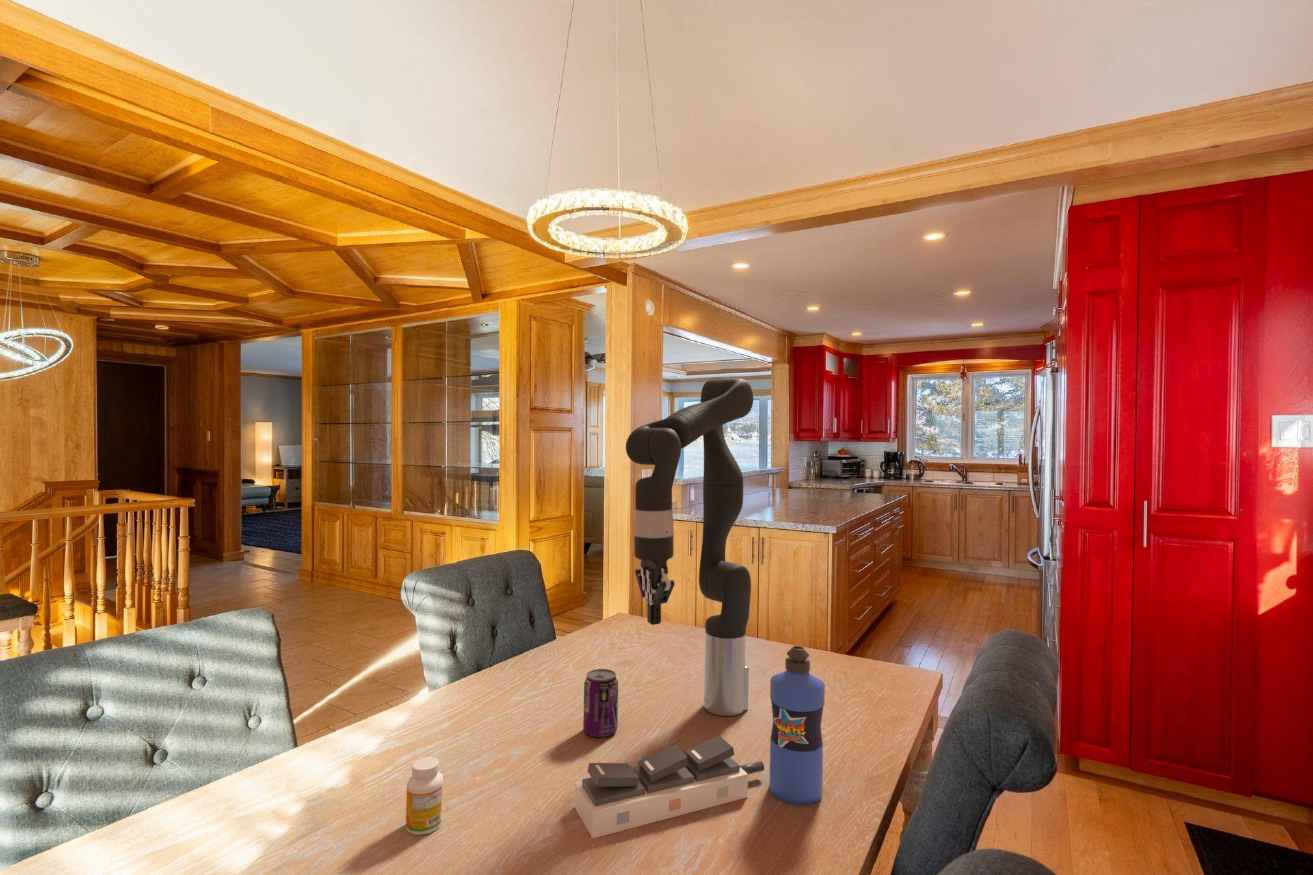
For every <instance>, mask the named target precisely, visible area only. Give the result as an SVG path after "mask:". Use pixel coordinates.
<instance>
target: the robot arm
mask: <svg viewBox="0 0 1313 875" xmlns="http://www.w3.org/2000/svg"><path fill="white" fill-rule="evenodd" d="M753 405H754V392H753V388H752V386H751V384H750V383H749V382H748V381H747V380H745V379H743V378H734V377H732V378H720V379H719V378H715V379H713V378H712V379H709V380H707V381H706V382H704V383H703V386H702V388H701V394H700V402H698V403H694V404H691V405H687V406H685V407H683V408H680V409H678V410H677V411H675V412H674V413H672V414H670V415H669V416H666V418H662V419H659V420H656V421H653V422H650V423H647V424H643V425H641V426H639V427H636V429H634V430H633V431H632V432H631V433H630V434H629V436H628V437H627V439H626V443H625V452H626V455H627V457H628V458H629V460H631V461H632V462H634V463H635V464H637V465H642V466H643V465H644V466H646V465H647V466H649V465H650V466H654V468H653V471H652V474H651V475H650V476H647V477H642V478H640V479H637V481H636V482H635V489H634V494H635V497H634V498H635V499H634V500H635V502H634V504H635V505H634V507H635V510H634V518H633V544H634V545H633V555H634V557H635V558H636V559H637V560H640V568H636V569H635V570H634V574H635V577H636V580H637V584H638V587H639V592H640V594H641V595H640V596H641V597H642V598H644V601H645V603H646V605H647V606H646V607H647V608H646V609H647V615H646V616H647V618H646V619H647V620H646V621H647V623H649V624H650V625H652V626H655V625H660V624H661V623H662V605H663V604H666V603H668V601H669V599H670V596H671V594H672V593H673V592H672V591H673V589H674V587H675V581H674V579H669V577H668V573H669V568H668V560H670V559H672V558H673V557H674V554H675V553H674V548H675V547H674V544H675V542H674V539H675V538H674V516H673V485H674V482H675V477H676V473H677V469H678V465H679V462H680V458H681V453H682V449H684V448H686V447H688V446H689V445H690V444H692V443H694V442H695V441H696V440H697V439H699V438H701V437H702V438H703V439H702V442H703V479H702V480H703V482H702V483H703V484H702V502H703V503H702V504H703V509H702V510H703V512H702V513H703V515H702V516H703V518H702V540H701V550H700V551H701V552H700V558H699V559H700V560H699V570H698V586H699V590H700V592H701V594H702V596H703V597H704V598H706V599H708V600H712V601H715V602H719V603H721V610H720V614H716V615H715V614H714V615H712V616H709V617H708V618H706V621H705V631H704V632H705V634H704V635H705V636H704V640H705V641H704V686H703V688H704V693H703V708H704V709H705V710H706V711H707V712H708V713H711V714H713V715H716V716H723V717H731V716H733V717H734V716H737V715H740V714H742V713H743V712H744V711H746V710H749V689H750V688H749V687H750V686H749V685H750V682H749V681H750V679H749V678H750V675H749V674H750V672H749V671H750V668H749V667H748V666H747V665H746V650H747V648H746V644H747V641H746V640H747V638H746V637H747V636H746V634H747V625H748V622H749V619H750V605H751V595H752V581H751V580H752V579H751V574H750V571H749V569H748V568H747V567H746V566H745V565H743V564H740V563H734V562H730V561H729V562H728V561H726V546H727V539H728V536H729V533H730V531H731V529H732V528H733V526H734V524H735V523H736V521H737V519H738V518H739V515H740V514H741V511H742V508H743V505H744V476H743V472H742V470H741V468H740V466H739V464H738V462H737V460H736V458H735V457H734V456H733V453H732V452H731V450H730V448H729V447H728V444H727V441H726V438H725V433H724V432H725V431H724V425H726V424H728V423H729V422H733V421H736V420H739V419H742V418H745V417H746V416H747V415H748V414H749V413H750V412H751V410H752V408H753Z"/></svg>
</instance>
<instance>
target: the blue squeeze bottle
mask: <svg viewBox="0 0 1313 875" xmlns="http://www.w3.org/2000/svg"><path fill="white" fill-rule="evenodd" d="M786 655H787V657H786V658H785V666H784V667H785V671H783V672H779V673H777V674H774V675H772V676H771V677H770V679H769V681H770V684H769V688H770V692H769V698H770V702H771V712H772V728H771V734H770V741H769V742H770V745H769V747H770V748H769V785H768V786H769V792H770V793H771V795H772V796H773V797H775V798H776V799H777V800H779V801H781V802H783V803H786V804H789V803H790V804H789V805H793V806H801V805H804V806H810V805H809V804H812V805H814V804H816V803H815V802H817V801H818V802H820V800H822V798H823V770H824V769H823V767H824V766H823V761H824V760H823V758H824V756H823V755H824V754H823V752H824V742H823V737H822V736H823V735H822V720H823V713H824V706H825V704H826V703H825V702H826V700H825V699H826V698H825V697H826V684H825V682H824V681H823V680H822V679H821V678H819V677H817V676H815V675H813V674H812V673H810V671H811V660H810V659H809V657H810V653H808V651H806V649H805V648H804V647H803V646H799V645H794V646H792V647H791V648H790V649H789V650H788V651H787V652H786ZM821 797H822V798H821ZM818 802H817V803H818ZM813 803H814V804H813Z"/></svg>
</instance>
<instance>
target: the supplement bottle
mask: <svg viewBox="0 0 1313 875" xmlns="http://www.w3.org/2000/svg"><path fill="white" fill-rule="evenodd" d="M405 804H406V807H405V809H406V810H405V828H406V830H407V832H409V834H411V835H414V836H421V835H427V834H430V833H433V832H435V831H436V830H437V829H439V828H440V827H441V826H442V823H443V817H444V816H443V815H444V814H443V813H444V775H443V774H442V772H440V760H439V759H438V758H437V757H434V756H426V757H422V758H419V759H416V760H415V761H414V762H412V765H411V776H410V777H409V779H408V780H407V783H406V801H405Z"/></svg>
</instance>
